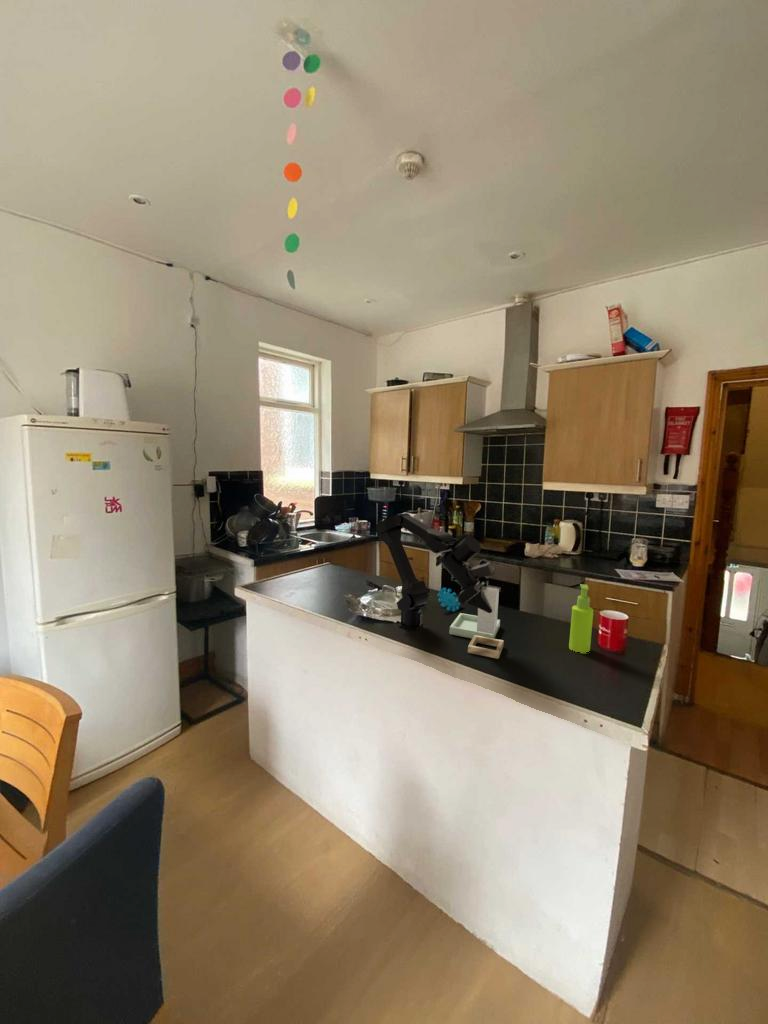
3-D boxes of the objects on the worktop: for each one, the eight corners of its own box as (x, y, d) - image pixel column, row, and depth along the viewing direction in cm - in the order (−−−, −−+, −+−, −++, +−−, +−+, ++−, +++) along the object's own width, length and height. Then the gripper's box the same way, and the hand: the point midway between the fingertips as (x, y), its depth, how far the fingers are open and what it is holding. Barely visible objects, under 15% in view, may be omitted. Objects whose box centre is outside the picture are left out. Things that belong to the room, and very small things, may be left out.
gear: (445, 610, 157) (435, 586, 162) (436, 618, 160) (427, 594, 166) (467, 609, 163) (457, 586, 168) (457, 616, 166) (448, 593, 172)
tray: (449, 634, 140) (449, 626, 139) (459, 619, 152) (460, 613, 152) (492, 642, 134) (493, 634, 134) (499, 626, 147) (500, 619, 147)
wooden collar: (467, 652, 127) (468, 646, 127) (474, 640, 135) (474, 634, 135) (498, 658, 123) (498, 652, 123) (503, 646, 131) (503, 640, 131)
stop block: (476, 631, 127) (479, 590, 125) (480, 625, 132) (482, 586, 130) (493, 634, 125) (496, 593, 123) (496, 628, 130) (499, 588, 128)
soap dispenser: (588, 645, 134) (593, 583, 131) (591, 654, 127) (596, 590, 125) (567, 642, 136) (573, 581, 133) (569, 651, 129) (575, 587, 126)
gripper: (471, 559, 118) (509, 603, 115) (484, 547, 135) (517, 585, 132) (442, 582, 123) (478, 626, 120) (458, 567, 140) (490, 605, 137)
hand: (492, 609), depth 127 cm, fingers closed on stop block, 5 cm apart
